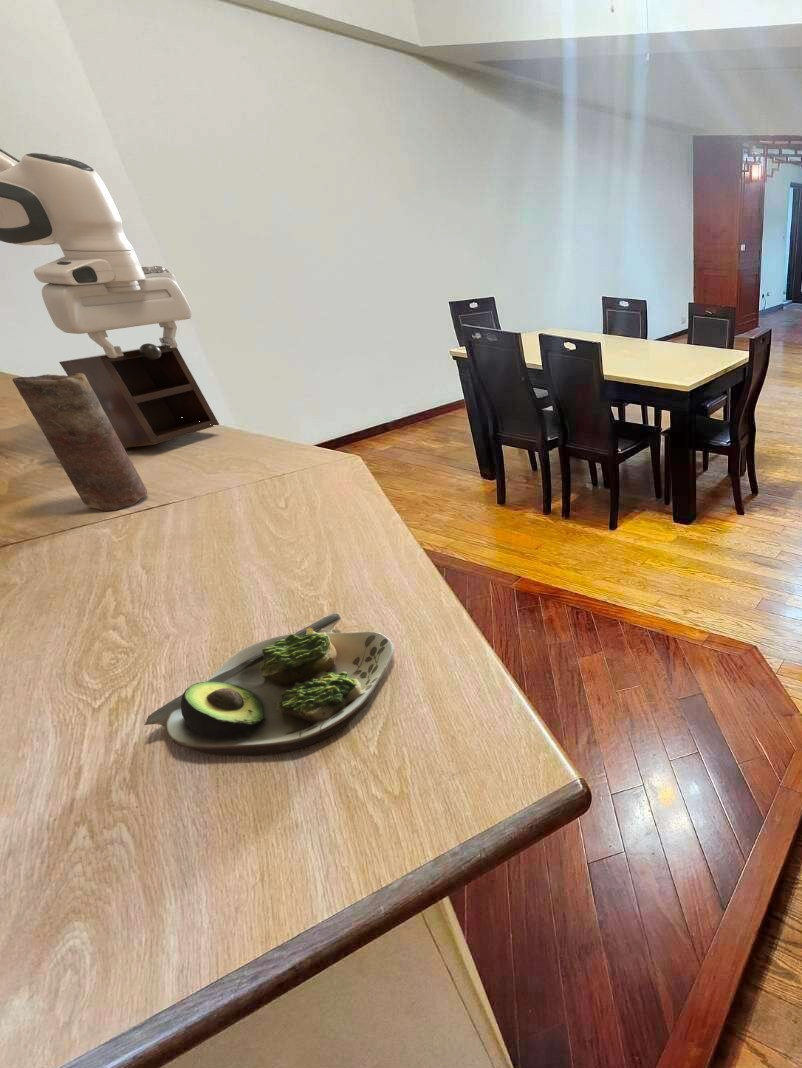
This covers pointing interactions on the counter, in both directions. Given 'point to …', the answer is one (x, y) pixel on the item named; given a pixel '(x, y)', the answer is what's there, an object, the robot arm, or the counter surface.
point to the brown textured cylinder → (83, 439)
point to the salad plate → (280, 693)
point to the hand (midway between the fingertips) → (144, 352)
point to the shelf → (146, 394)
